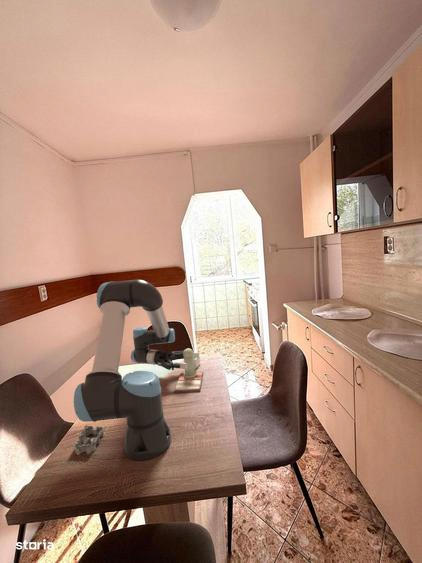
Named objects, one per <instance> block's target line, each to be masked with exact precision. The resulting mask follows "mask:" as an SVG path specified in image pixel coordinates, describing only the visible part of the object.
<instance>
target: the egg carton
mask: <svg viewBox="0 0 422 563" xmlns="http://www.w3.org/2000/svg"><path fill="white" fill-rule="evenodd" d="M104 428H105V426H104V425H103V426H102V425H101V426H96V427H95V428H94V427H93V425H88V424H85V426H84V427H83V428H82V429H81V433H80V434H79V435H78V438H77V439H76V440H75V442H74V445H73V447H72V449H74V453H76V455H77V456H79V455H80V454H82V453H84V452H86V454H87V455H89V454H92V452H94V451H96V450H97V445H98V444H100V443H101V438H102V437H103V438H104V436H105V432H104V430H105V429H104ZM89 435H92V436H95V437H90V436H89ZM88 436H89V437H88ZM82 443H83V444H82Z"/></svg>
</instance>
